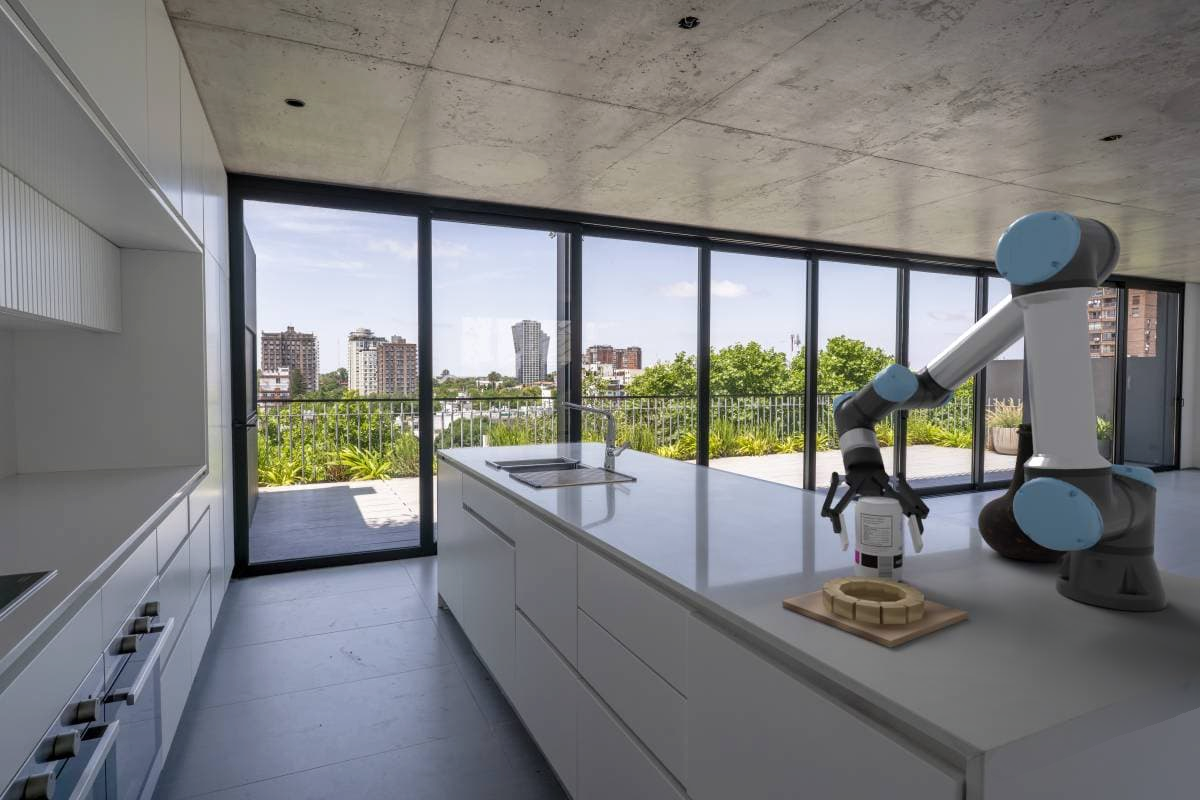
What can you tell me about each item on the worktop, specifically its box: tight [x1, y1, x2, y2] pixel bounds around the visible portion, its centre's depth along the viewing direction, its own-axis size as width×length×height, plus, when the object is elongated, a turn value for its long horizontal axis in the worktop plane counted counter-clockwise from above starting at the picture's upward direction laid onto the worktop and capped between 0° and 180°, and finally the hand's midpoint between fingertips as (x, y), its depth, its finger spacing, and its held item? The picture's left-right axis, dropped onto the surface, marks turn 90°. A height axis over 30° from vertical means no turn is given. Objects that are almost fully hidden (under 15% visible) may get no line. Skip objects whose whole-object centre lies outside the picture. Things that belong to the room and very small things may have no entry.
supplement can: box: [854, 496, 904, 582], centre depth 125 cm, size 8×8×15 cm
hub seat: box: [781, 576, 968, 649], centre depth 108 cm, size 20×20×4 cm
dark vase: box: [977, 423, 1067, 563], centre depth 139 cm, size 18×18×28 cm
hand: (882, 548), depth 122 cm, fingers open, 12 cm apart
